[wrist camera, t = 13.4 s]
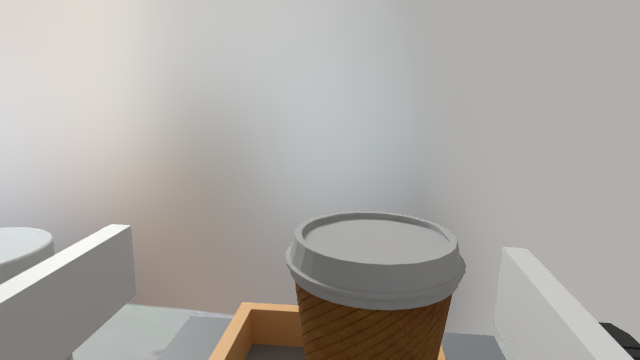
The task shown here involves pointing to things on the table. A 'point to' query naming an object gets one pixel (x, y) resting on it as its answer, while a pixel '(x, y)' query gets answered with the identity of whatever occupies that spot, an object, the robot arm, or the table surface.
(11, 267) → the supplement tub
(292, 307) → the grey platform
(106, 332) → the table surface
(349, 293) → the disposable coffee cup
